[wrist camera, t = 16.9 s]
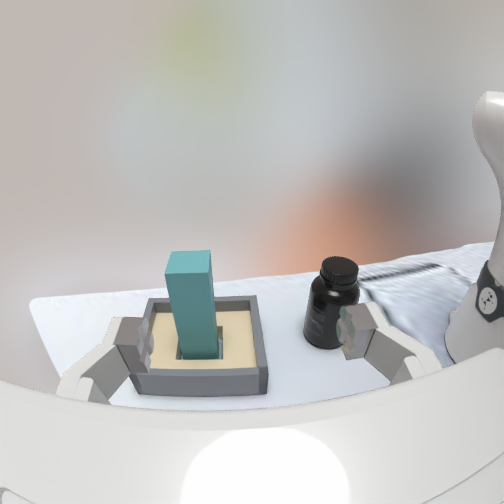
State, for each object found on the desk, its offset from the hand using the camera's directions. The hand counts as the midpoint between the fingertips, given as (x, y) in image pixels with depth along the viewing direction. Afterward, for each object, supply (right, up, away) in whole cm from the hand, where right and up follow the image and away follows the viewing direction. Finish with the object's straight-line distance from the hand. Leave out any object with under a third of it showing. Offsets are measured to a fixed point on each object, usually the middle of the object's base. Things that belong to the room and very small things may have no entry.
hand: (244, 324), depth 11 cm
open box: (-7, -11, +25) cm, 28 cm away
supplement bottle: (+11, -9, +29) cm, 32 cm away
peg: (-6, -11, +25) cm, 28 cm away
